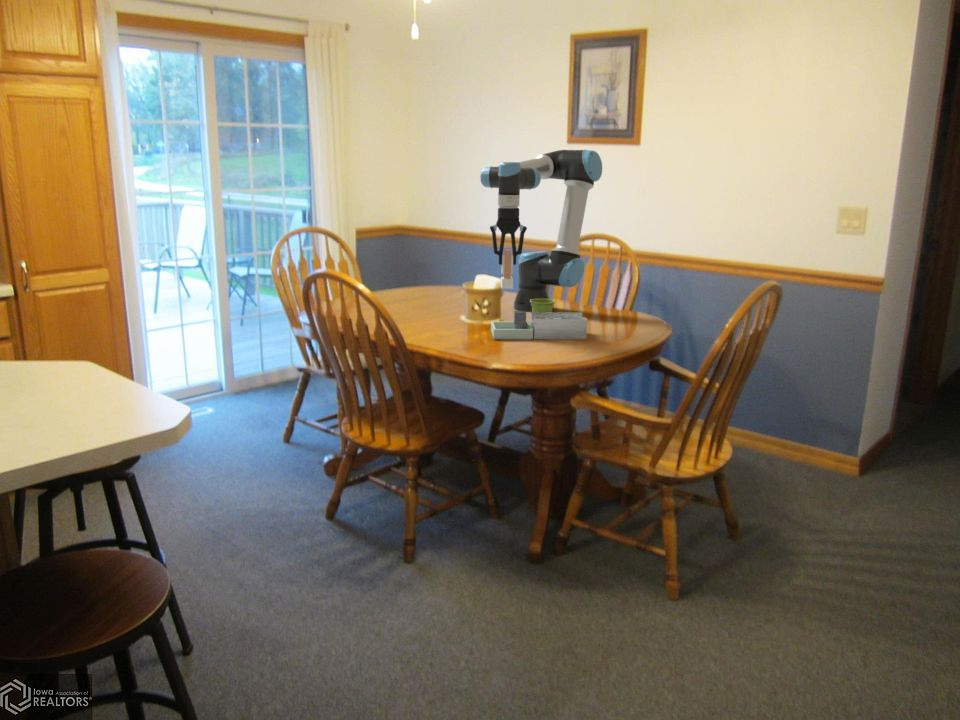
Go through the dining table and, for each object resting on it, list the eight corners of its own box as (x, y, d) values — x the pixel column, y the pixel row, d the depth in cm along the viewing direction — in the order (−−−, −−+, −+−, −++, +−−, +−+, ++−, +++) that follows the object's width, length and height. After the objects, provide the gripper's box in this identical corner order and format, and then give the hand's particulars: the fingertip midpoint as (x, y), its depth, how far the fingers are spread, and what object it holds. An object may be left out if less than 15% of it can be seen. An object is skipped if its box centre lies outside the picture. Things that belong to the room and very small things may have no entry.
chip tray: (490, 331, 285) (491, 321, 284) (528, 331, 286) (528, 321, 285) (493, 339, 273) (493, 329, 272) (532, 339, 273) (533, 329, 273)
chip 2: (526, 333, 281) (514, 333, 281) (526, 322, 280) (515, 322, 280) (527, 335, 277) (516, 335, 277) (528, 324, 276) (516, 324, 276)
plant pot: (537, 320, 306) (538, 297, 304) (558, 323, 301) (559, 300, 298) (524, 323, 298) (525, 301, 296) (546, 327, 293) (546, 303, 291)
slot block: (530, 331, 286) (530, 312, 284) (580, 331, 287) (581, 312, 285) (534, 339, 274) (534, 319, 272) (586, 339, 275) (587, 319, 273)
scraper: (500, 286, 290) (501, 249, 287) (511, 286, 291) (512, 249, 287) (501, 288, 285) (502, 250, 282) (513, 288, 286) (514, 251, 282)
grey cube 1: (513, 321, 280) (513, 310, 279) (524, 321, 280) (525, 310, 279) (514, 324, 276) (514, 312, 275) (525, 324, 276) (526, 312, 275)
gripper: (487, 207, 277) (486, 275, 283) (531, 208, 278) (529, 275, 284) (486, 206, 284) (484, 272, 290) (529, 206, 285) (527, 272, 291)
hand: (507, 273), depth 287 cm, fingers closed on scraper, 2 cm apart
